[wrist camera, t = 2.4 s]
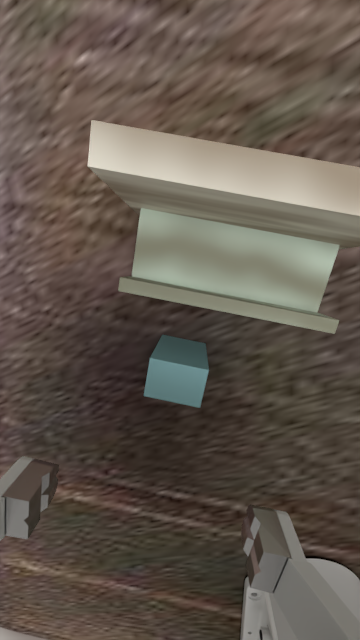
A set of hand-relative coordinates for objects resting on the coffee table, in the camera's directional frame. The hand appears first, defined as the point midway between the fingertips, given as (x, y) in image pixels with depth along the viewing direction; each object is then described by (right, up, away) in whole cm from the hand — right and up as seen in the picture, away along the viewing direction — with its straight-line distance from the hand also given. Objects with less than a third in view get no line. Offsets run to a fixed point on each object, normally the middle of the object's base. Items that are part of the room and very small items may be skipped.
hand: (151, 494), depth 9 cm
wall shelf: (+6, +14, +14) cm, 21 cm away
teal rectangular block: (+1, +3, +16) cm, 17 cm away
